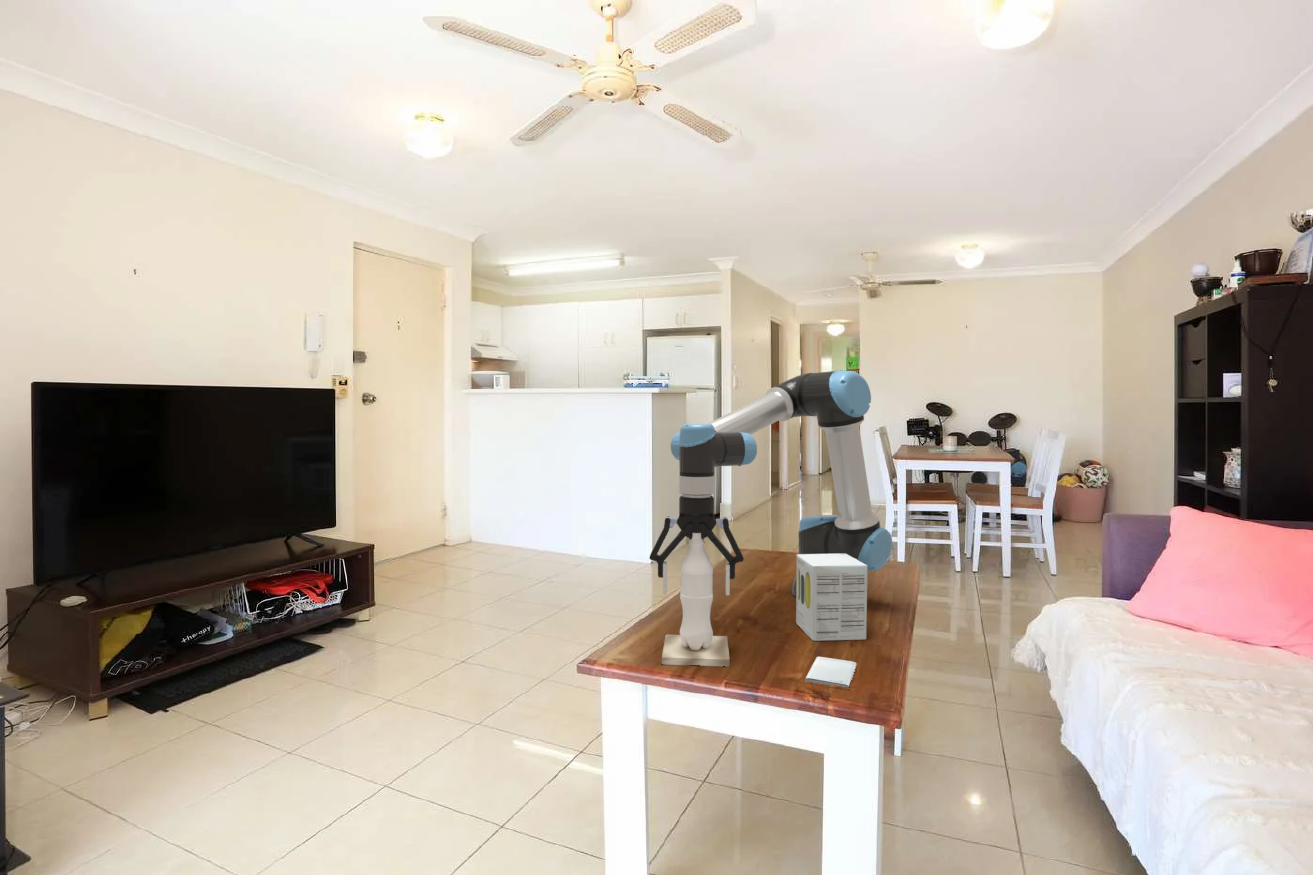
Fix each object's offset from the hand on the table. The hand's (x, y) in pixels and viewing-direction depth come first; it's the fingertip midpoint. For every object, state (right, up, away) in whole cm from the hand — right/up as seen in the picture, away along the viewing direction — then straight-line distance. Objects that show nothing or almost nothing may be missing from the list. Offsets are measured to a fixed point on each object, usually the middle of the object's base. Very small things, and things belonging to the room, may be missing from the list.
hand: (696, 593), depth 138 cm
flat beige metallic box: (0, -13, 0) cm, 13 cm away
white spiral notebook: (+26, -14, -11) cm, 32 cm away
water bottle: (0, -12, 0) cm, 12 cm away
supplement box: (+33, -13, +15) cm, 39 cm away
